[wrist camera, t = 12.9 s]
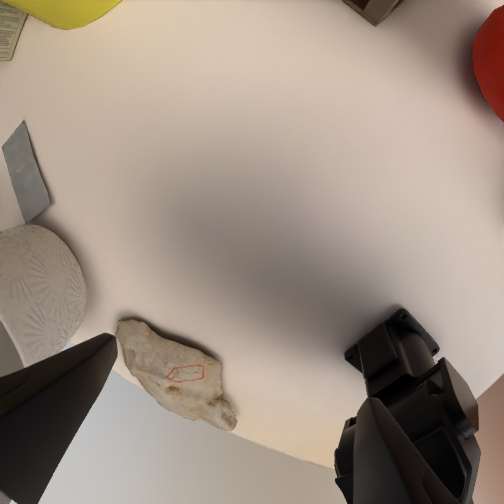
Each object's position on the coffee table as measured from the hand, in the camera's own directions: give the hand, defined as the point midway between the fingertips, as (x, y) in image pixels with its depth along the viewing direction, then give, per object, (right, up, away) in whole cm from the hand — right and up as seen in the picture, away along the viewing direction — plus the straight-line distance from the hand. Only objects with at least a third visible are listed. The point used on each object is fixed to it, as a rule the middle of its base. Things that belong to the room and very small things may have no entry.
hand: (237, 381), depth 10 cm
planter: (-19, +2, +16) cm, 25 cm away
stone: (-6, -6, +20) cm, 21 cm away
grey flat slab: (-21, +12, +12) cm, 27 cm away
